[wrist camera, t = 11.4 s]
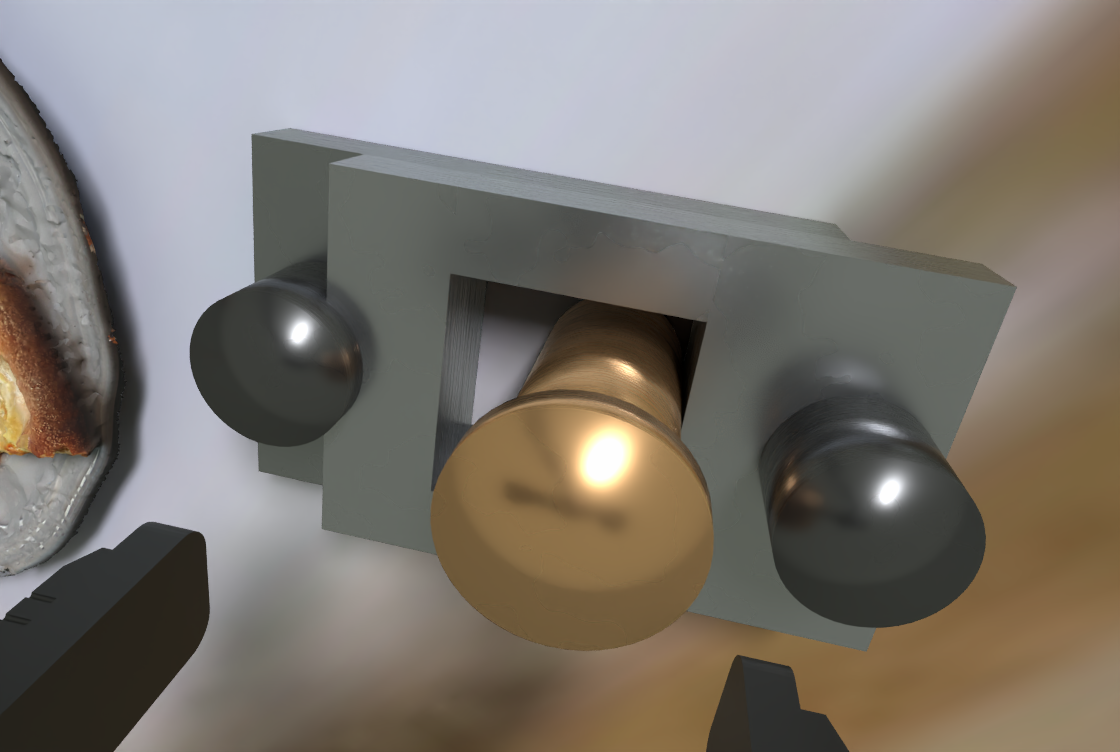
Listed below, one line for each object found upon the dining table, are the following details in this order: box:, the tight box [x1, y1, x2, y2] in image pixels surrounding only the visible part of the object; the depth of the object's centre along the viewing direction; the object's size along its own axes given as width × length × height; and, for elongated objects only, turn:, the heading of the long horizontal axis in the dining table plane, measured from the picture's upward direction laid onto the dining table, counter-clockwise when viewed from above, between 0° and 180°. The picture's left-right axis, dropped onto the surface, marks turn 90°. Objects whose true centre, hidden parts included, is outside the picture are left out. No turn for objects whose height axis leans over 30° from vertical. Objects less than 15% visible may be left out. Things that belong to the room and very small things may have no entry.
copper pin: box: [430, 299, 714, 651], centre depth 18 cm, size 5×5×9 cm
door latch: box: [190, 128, 1017, 651], centre depth 19 cm, size 18×10×7 cm, turn 81°
